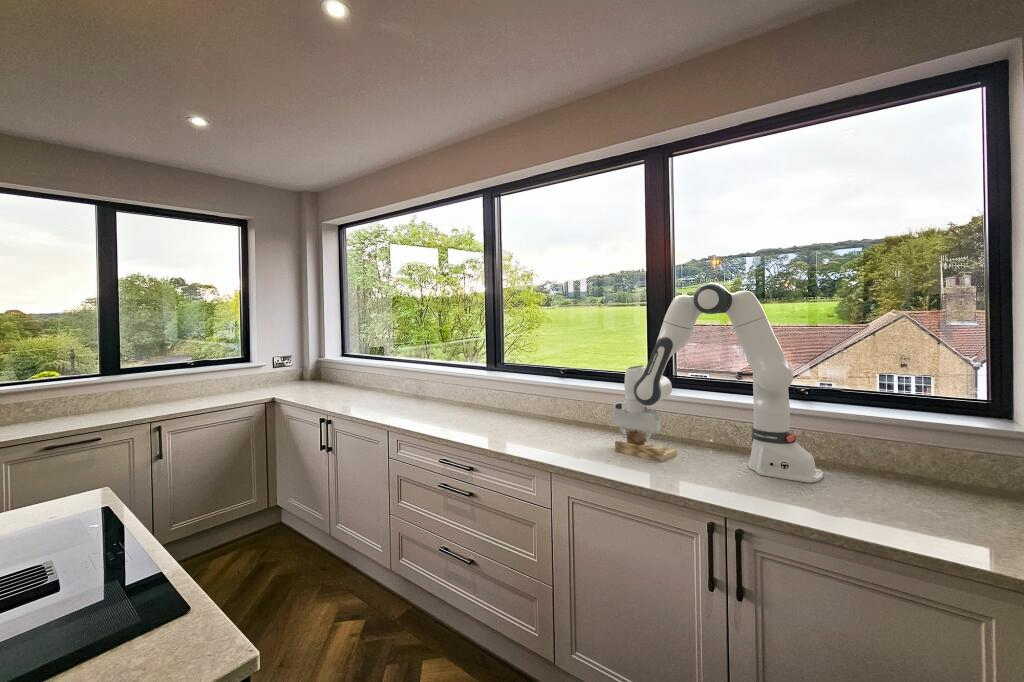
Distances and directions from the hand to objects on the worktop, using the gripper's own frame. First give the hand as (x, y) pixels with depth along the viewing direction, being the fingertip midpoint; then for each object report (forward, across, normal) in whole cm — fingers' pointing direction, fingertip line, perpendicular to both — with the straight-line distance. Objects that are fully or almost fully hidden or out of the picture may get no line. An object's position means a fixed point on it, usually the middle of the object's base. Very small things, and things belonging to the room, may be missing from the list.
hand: (635, 439), depth 192 cm
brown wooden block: (+2, 0, 0) cm, 2 cm away
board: (+4, -6, +2) cm, 7 cm away
